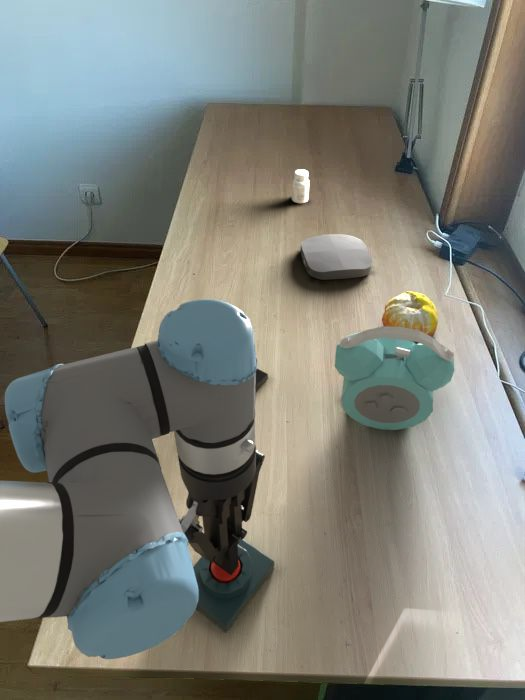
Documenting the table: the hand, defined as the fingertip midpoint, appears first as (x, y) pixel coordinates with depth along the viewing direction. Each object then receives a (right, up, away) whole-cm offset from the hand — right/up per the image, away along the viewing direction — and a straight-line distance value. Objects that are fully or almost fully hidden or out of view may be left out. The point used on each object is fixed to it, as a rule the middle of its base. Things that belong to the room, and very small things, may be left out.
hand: (226, 564), depth 70 cm
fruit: (+33, +31, +41) cm, 61 cm away
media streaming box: (+21, +47, +58) cm, 77 cm away
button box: (0, -3, +3) cm, 5 cm away
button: (0, -1, +1) cm, 2 cm away
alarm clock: (+24, +15, +24) cm, 38 cm away
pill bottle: (+14, +66, +80) cm, 105 cm away
